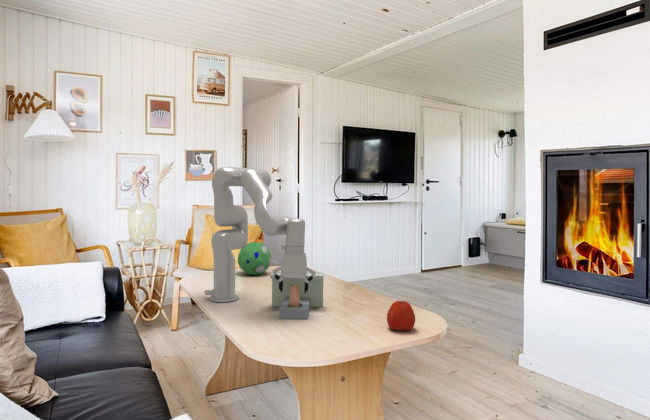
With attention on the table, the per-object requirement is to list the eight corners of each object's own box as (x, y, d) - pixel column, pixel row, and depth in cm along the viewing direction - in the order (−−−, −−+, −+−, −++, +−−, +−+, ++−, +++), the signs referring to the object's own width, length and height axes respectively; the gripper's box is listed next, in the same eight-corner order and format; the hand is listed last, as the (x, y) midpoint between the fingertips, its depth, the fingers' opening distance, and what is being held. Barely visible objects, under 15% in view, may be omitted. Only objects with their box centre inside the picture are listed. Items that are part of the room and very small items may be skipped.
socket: (279, 318, 170) (279, 308, 170) (284, 306, 187) (284, 297, 187) (307, 319, 170) (307, 309, 169) (310, 307, 187) (310, 297, 187)
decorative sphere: (266, 285, 254) (250, 270, 239) (241, 274, 264) (224, 259, 249) (282, 257, 261) (268, 241, 246) (258, 248, 271) (242, 232, 256)
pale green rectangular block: (270, 309, 183) (270, 275, 182) (272, 305, 190) (272, 271, 189) (322, 310, 182) (323, 275, 182) (323, 305, 189) (323, 272, 188)
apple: (396, 335, 153) (396, 305, 152) (381, 326, 162) (381, 298, 162) (420, 331, 157) (421, 302, 156) (404, 323, 166) (404, 296, 166)
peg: (288, 316, 173) (289, 286, 173) (289, 313, 177) (290, 284, 177) (299, 316, 173) (299, 286, 172) (299, 313, 177) (300, 284, 176)
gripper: (271, 250, 170) (270, 293, 171) (316, 251, 170) (314, 295, 171) (274, 247, 178) (273, 288, 179) (316, 248, 177) (315, 290, 179)
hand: (293, 291), depth 175 cm, fingers open, 9 cm apart
